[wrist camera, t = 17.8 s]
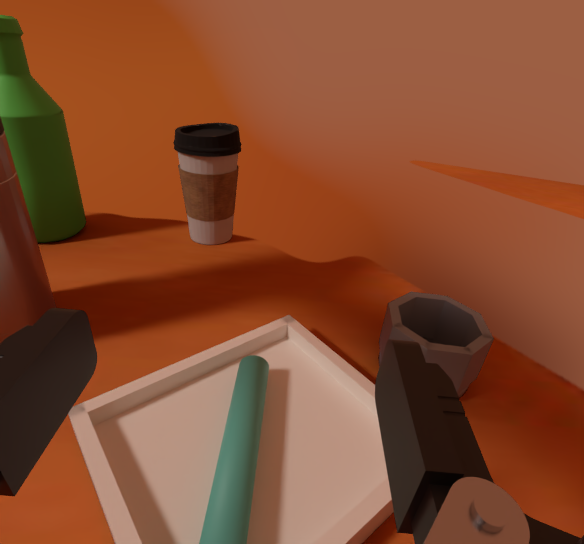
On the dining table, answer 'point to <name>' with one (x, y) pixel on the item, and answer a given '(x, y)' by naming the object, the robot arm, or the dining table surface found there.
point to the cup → (440, 334)
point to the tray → (271, 455)
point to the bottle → (37, 143)
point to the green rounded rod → (237, 457)
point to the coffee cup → (209, 178)
